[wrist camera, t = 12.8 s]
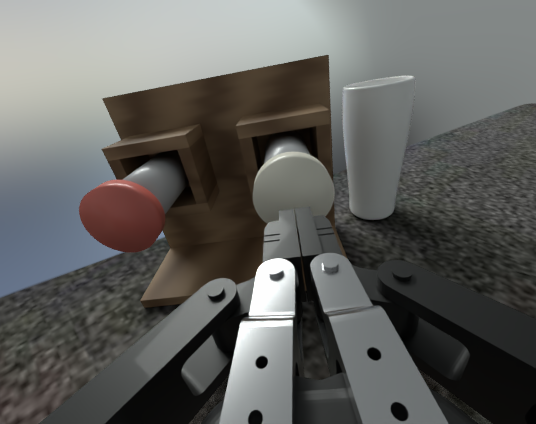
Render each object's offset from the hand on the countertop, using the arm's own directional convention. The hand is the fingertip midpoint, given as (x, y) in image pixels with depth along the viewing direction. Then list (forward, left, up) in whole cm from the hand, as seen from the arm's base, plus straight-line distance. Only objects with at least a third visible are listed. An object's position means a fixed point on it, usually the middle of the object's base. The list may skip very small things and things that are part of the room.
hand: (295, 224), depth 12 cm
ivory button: (0, -8, -2) cm, 8 cm away
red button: (+11, -8, -2) cm, 14 cm away
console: (+5, -11, -11) cm, 16 cm away
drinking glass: (-10, -18, -11) cm, 23 cm away
